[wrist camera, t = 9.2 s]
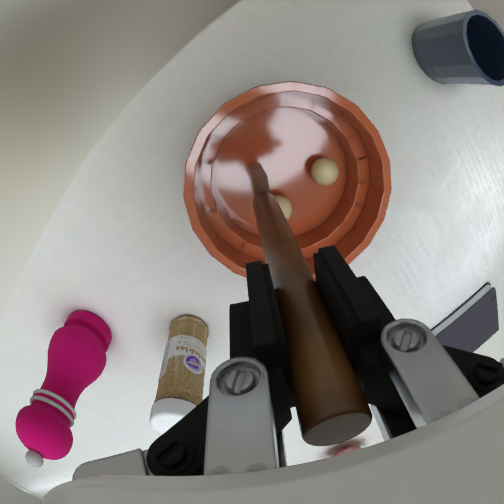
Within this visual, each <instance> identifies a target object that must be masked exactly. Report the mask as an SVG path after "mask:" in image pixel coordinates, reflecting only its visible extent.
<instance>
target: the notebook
mask: <svg viewBox="0 0 504 504" xmlns="http://www.w3.org/2000/svg"><path fill="white" fill-rule="evenodd" d="M498 330H499V324H498V310H497V299H496V290H495V288H494V287H493V288H492V287H491V285H490V283H486V284H485V285H484V286H483V287H482V288H481V289H480V290H479V291H478V292H476V293H475V294H474V295H473V296H472V297H471V298H470V299H468V300H467V301H466V302H465V303H464V304H463V305H462V306H460V307H459V308H458V309H457V310H456V311H454V312H453V313H452V314H451V315H449V316H448V317H447V318H446V319H444V320H443V321H442V322H441V323H439V324H438V325H437V326H435V327H434V328H433V329H432V330H431V332H432V333H433V334H434V336H435V337H436V338H437V339H438V341H439V342H440V343H441V345H445V346H449V347H452V348H456V349H460V350H464V351H468V352H472V353H473V352H474V351H475V350H476V349H478V348H479V347H480V346H481V345H482V344H483V343H485V342H486V341H487V340H488V339H489V338H490V337H491V336H492V335H493V334H495V333H496V332H497V331H498Z"/></svg>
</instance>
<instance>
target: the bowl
mask: <svg viewBox="0 0 504 504" xmlns="http://www.w3.org/2000/svg"><path fill="white" fill-rule="evenodd" d="M319 158H329V159H331V160H333V161H334V162H335V163H336V165H337V167H338V170H339V174H338V177H337V179H336V181H335V182H334V183H332V184H330V185H320V184H318V183H316V182H315V181H314V180H313V178H312V176H311V166H312V164H313V163H314V162H315V161H316V160H317V159H319ZM258 163H260V164H261V165H262V167H263V169H264V171H265V173H266V174H267V176H268V182H269V187H270V192H271V193H272V194H273V195H274V196H275V195H281V196H284V197H286V198H288V199H289V201H290V202H291V204H292V214H291V216H290V218H289V219H288V220H287V222H288V224H289V226H290V228H291V230H292V232H293V234H294V236H295V238H296V240H297V242H298V244H299V247H300V249H301V251H302V253H303V255H304V257H305V259H306V261H307V264H308V266H309V268H310V270H311V272H312V274H313V277H314V279H315V270H314V260H313V254H314V253H318V248H323V247H327V246H332V245H334V246H335V247H336V248H337V250H338V251H339V253H340V254H341V255H342V257H343V258H344V260H345V261H346V263H347V264H350V263H351V262H352V261H353V260H354V259H355V258H356V257H357V256H358V255H359V254H360V253H361V252H362V251H363V250H364V249H365V248H366V247H368V246H369V244H370V243H371V241H372V239H373V238H374V236H375V234H376V232H377V231H378V229H379V227H380V226H381V224H382V222H383V221H384V218H385V214H386V210H387V206H388V202H389V198H390V194H391V173H390V160H389V157H388V154H387V152H386V149H385V147H384V144H383V142H382V139H381V137H380V134H379V132H378V130H377V129H376V127H375V126H374V125H373V124H372V122H371V121H370V120H369V119H368V118H367V117H366V115H365V114H364V113H363V112H362V111H361V110H360V108H359V107H358V106H357V105H356V104H354V103H352V102H351V101H349V100H347V99H346V98H344V97H342V96H341V95H339V94H337V93H336V92H334V91H332V90H330V89H329V88H325V87H321V86H316V85H311V84H306V83H300V82H295V81H290V82H282V83H275V84H269V85H262V86H257V87H255V88H253V89H251V90H249V91H247V92H245V93H243V94H241V95H239V96H237V97H236V98H234V99H232V100H230V101H228V102H226V103H225V104H223V105H222V106H221V108H220V109H219V110H218V111H217V112H216V113H215V114H214V115H213V116H212V117H211V118H210V119H209V121H208V122H207V123H206V124H205V125H204V126H203V127H202V128H201V130H200V131H199V133H198V135H197V137H196V140H195V142H194V144H193V147H192V149H191V151H190V154H189V156H188V159H187V161H186V164H185V179H184V201H185V205H186V208H187V212H188V215H189V219H190V222H191V226H192V228H193V231H194V232H195V233H196V235H197V236H198V238H199V239H200V241H201V242H202V244H203V245H204V246H205V248H206V249H207V251H208V252H209V254H210V255H211V256H213V257H214V258H215V259H217V260H218V261H219V262H221V263H222V264H223V265H225V266H226V267H227V268H229V269H230V270H231V271H233V272H234V273H236V274H238V275H241V276H244V277H247V275H246V263H250V262H255V261H260V260H261V262H262V264H266V263H265V258H264V254H263V249H262V244H261V240H260V235H259V231H258V226H257V222H256V217H255V213H254V208H253V200H254V198H255V197H254V192H253V187H252V182H251V177H250V172H249V167H248V166H249V165H253V164H258ZM315 280H316V279H315Z"/></svg>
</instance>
